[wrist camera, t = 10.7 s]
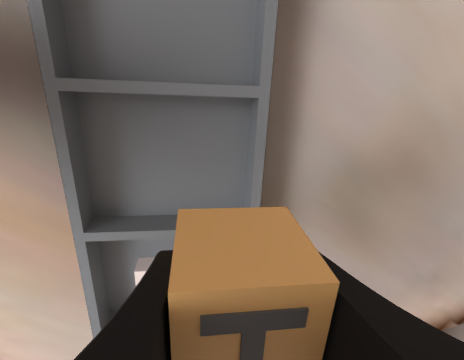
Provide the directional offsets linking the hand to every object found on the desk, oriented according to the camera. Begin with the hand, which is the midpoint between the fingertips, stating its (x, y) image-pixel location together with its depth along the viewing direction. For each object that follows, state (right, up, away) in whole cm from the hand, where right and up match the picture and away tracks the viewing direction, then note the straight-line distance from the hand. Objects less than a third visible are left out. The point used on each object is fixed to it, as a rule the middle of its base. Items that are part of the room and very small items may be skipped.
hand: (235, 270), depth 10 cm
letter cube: (0, 0, +1) cm, 1 cm away
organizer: (-4, +5, +8) cm, 10 cm away
